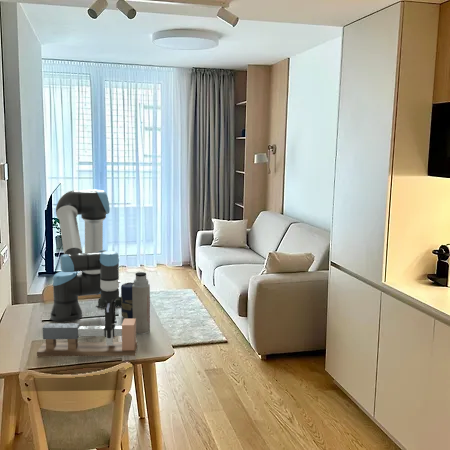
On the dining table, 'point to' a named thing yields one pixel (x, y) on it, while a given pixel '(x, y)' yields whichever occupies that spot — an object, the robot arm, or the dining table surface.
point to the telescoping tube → (98, 330)
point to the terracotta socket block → (128, 334)
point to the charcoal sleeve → (60, 331)
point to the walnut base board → (82, 349)
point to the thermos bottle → (141, 303)
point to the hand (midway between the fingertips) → (110, 341)
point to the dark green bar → (102, 302)
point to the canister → (127, 301)
